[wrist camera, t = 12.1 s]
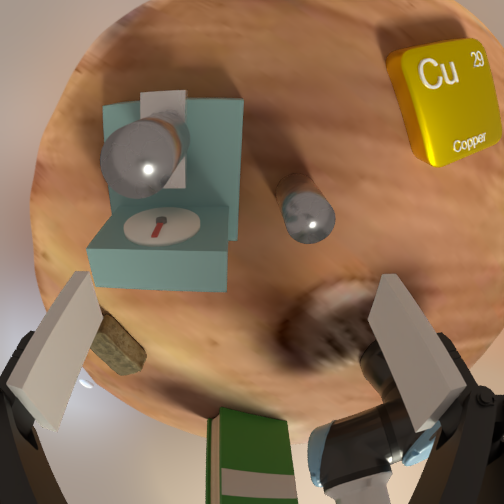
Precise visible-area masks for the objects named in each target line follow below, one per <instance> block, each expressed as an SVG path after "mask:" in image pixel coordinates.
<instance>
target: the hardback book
mask: <svg viewBox="0 0 504 504" xmlns="http://www.w3.org/2000/svg"><path fill="white" fill-rule="evenodd" d="M206 504H298V498H297V491H296V483H295V476H294V468H293V461H292V454H291V446H290V439H289V432H288V425H287V421H282V420H277V419H272V418H267V417H262V416H258V415H253V414H249V413H244V412H240V411H236V410H232V409H228V408H224V407H221V408H220V414H219V415H218V416H217V417H216V418H214V419H211V418H208V419H207V448H206Z"/></svg>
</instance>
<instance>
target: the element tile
mask: <svg viewBox="0 0 504 504" xmlns="http://www.w3.org/2000/svg"><path fill="white" fill-rule="evenodd" d="M386 68H387V72H388V74H389V77H390V80H391V83H392V85H393V88H394V91H395V94H396V97H397V100H398V103H399V107H400V110H401V113H402V116H403V120H404V123H405V127H406V130H407V134H408V138H409V142H410V146H411V149H412V152H413V154H414V155H415V156H416V157H417V158H418V159H420V160H422V161H424V162H426V163H427V164H429V165H431V166H433V167H438V168H439V167H443V166H446V165H448V164H450V163H453V162H455V161H457V160H460V159H462V158H464V157H467V156H469V155H471V154H474V153H476V152H478V151H481V150H483V149H485V148H488V147H490V146H493V145H495V144H496V143H498V141H499V140H500V139H501V137H502V124H501V117H500V111H499V105H498V100H497V95H496V90H495V86H494V81H493V77H492V73H491V69H490V65H489V62H488V58H487V55H486V51H485V49H484V47H483V46H482V44H481V43H480V42H479V41H478V40H476V39H473V38H460V39H450V40H443V41H438V42H432V43H427V44H422V45H417V46H412V47H408V48H403V49H399V50H395V51H393V52H391V53H390V54H389V55H388V56H387V59H386Z"/></svg>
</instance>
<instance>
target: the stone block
mask: <svg viewBox="0 0 504 504" xmlns="http://www.w3.org/2000/svg"><path fill="white" fill-rule="evenodd" d="M90 349H91V350H92V351H93V352H94V353H95V354H96V355H97V356H98V357H100V358H101V359H102V360H103V361H104V362H105V363H106V364H107V365H108V366H109V367H110V368H111V369H112V370H114V371H115V372H116V373H117V374H119V375H129V374H134V373H137V372H138V371H140V372H141V370H142V367H143V365H144V362H145V360H146V357H147V354H146V353H145V351H144V350H143V349H142V348H141V347H140V346H139V344H138V343H137V342H136V341H135V340H134V339H133V338H132V337H131V336H130V335H129V334H128V333H127V332H126V331H125V330H124V329H123V328H122V327H121V326H120V324H119V323H118V322H117V321H116V320H115V319H114V318H113V317H111V316H109V315H108V314H107V315H104V316H103V320H102V322H101V324H100V326H99V329H98V331H97V333H96V335H95V337H94V340H93V342H92V344H91V346H90Z"/></svg>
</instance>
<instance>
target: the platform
mask: <svg viewBox="0 0 504 504" xmlns="http://www.w3.org/2000/svg"><path fill="white" fill-rule="evenodd" d="M187 97H188V90H169V91H153V92H141V93H140V119H142V118H145V117H147V116H150V115H152V114H155V113H159V112H167V113H172V114H174V115H177V116H178V117H180V118H181V119H182V120H183V121H184V122H185V124H186V125H187ZM186 186H187V153H186V155H185V156H184V158H183V159H182V161H181V162H180V163H179V165H178V166H177V168H176V169H175V171H174V172H173V174H172V175H171V177H170V178H169V180H168V182H167V183H166V185H165V186H164V187H163V188H186Z"/></svg>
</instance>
